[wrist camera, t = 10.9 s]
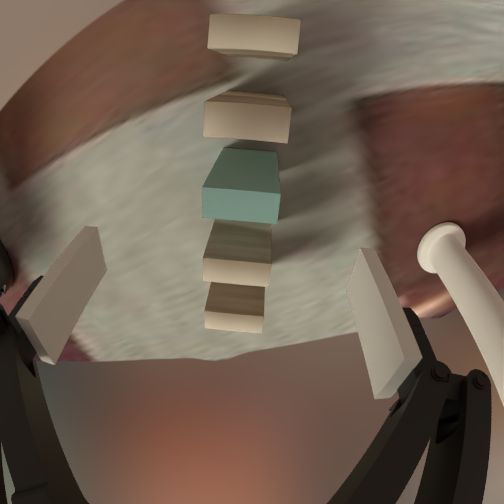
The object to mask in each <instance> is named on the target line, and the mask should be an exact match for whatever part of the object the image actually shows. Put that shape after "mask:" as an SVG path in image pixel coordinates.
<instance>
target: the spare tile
mask: <svg viewBox="0 0 504 504" xmlns="http://www.w3.org/2000/svg"><path fill="white" fill-rule="evenodd" d="M280 198H281V189H280V178H279V168H278V158H277V152H269V151H259V150H247V149H234V148H223V149H222V151H221V153H220V155H219V157H218V159H217V160H216V162H215V164H214V166H213V168H212V170H211V172H210V173H209V175H208V177H207V179H206V181H205V183H204V185H203V187H202V218H212V219H224V220H236V221H247V222H258V223H269V224H277V220H278V213H279V205H280Z"/></svg>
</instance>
